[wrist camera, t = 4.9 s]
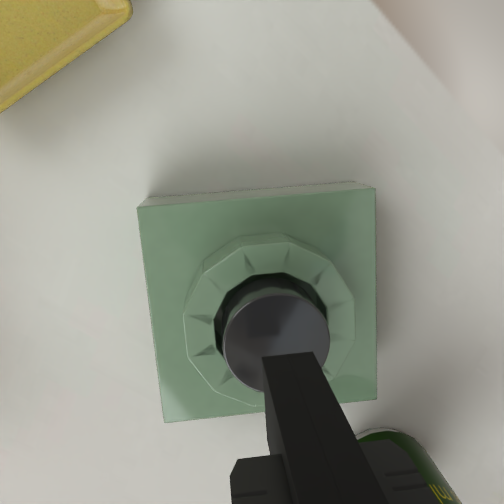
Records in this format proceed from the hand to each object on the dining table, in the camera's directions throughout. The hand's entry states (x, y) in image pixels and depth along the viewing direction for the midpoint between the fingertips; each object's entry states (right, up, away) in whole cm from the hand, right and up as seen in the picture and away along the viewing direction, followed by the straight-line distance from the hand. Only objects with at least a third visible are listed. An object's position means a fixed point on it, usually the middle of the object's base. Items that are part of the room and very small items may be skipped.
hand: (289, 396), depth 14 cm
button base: (-1, +2, +10) cm, 10 cm away
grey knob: (0, +1, +6) cm, 6 cm away
